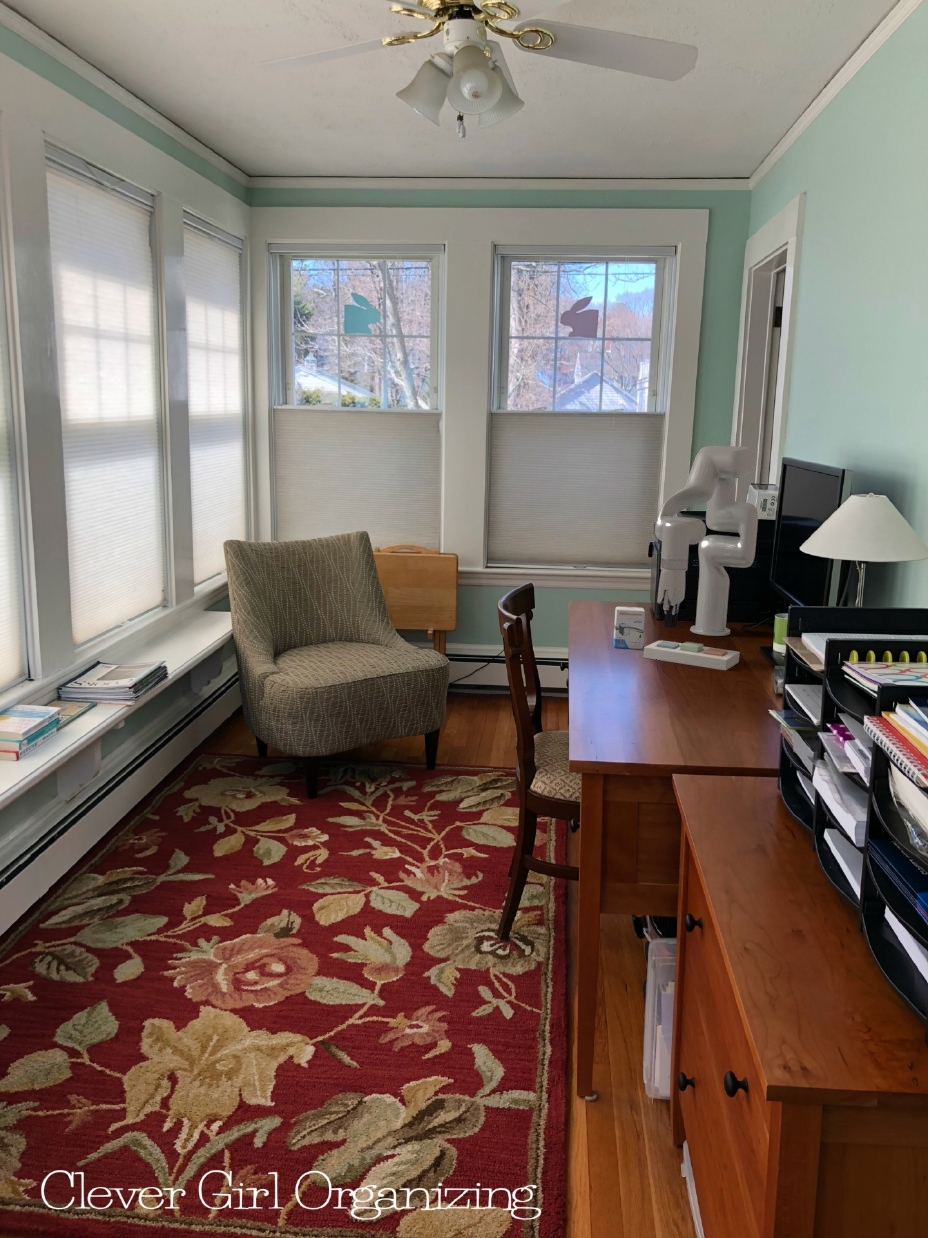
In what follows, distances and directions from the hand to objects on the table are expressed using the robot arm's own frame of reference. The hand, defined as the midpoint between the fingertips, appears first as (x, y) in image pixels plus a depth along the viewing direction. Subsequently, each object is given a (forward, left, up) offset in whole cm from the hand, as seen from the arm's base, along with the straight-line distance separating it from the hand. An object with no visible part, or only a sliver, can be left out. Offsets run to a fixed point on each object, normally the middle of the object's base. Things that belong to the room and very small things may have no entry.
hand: (670, 626), depth 279 cm
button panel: (+1, +7, -9) cm, 11 cm away
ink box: (-3, -14, -9) cm, 17 cm away
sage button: (+1, +7, -7) cm, 10 cm away
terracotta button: (+1, +14, -8) cm, 16 cm away
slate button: (+1, 0, -8) cm, 8 cm away
